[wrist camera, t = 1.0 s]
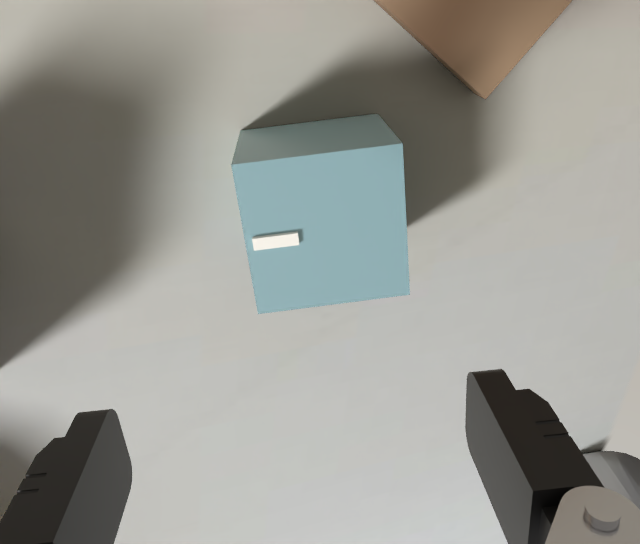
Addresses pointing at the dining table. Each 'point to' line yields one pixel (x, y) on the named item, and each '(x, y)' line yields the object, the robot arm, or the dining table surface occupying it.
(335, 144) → the mini blue cabinet
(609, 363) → the dining table surface
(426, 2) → the mounting plate
